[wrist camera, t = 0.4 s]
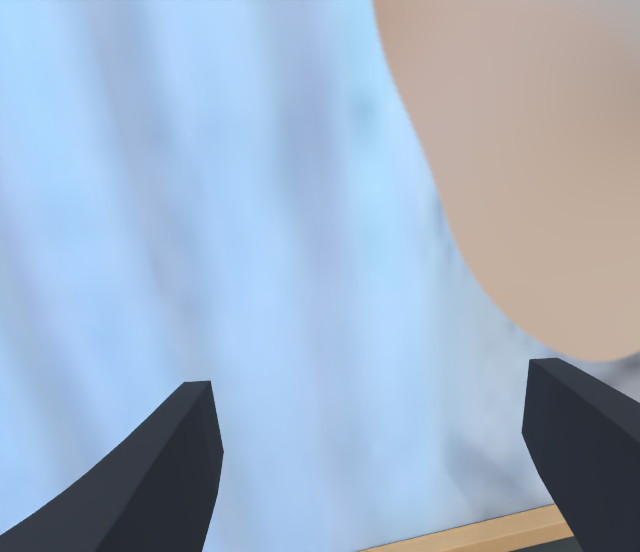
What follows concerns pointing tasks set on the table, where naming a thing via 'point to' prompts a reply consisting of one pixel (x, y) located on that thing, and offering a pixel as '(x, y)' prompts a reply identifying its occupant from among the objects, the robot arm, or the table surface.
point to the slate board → (498, 535)
